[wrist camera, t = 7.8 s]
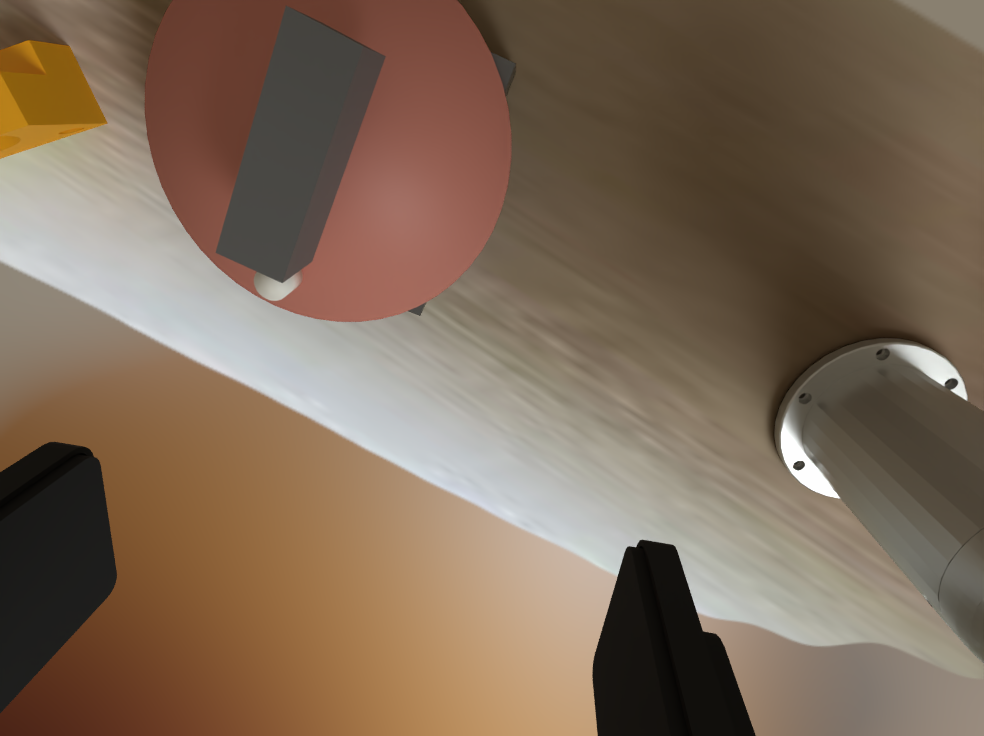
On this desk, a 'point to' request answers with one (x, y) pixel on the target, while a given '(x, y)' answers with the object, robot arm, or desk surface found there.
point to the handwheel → (330, 146)
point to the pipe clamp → (42, 96)
